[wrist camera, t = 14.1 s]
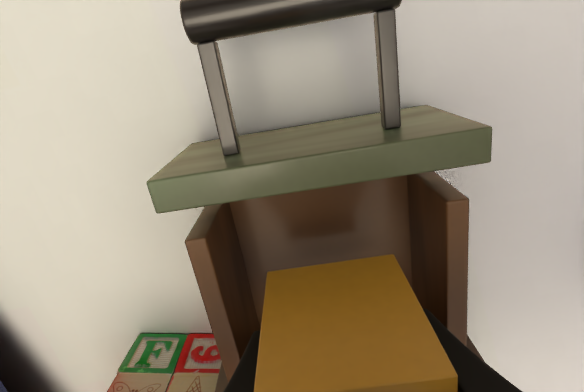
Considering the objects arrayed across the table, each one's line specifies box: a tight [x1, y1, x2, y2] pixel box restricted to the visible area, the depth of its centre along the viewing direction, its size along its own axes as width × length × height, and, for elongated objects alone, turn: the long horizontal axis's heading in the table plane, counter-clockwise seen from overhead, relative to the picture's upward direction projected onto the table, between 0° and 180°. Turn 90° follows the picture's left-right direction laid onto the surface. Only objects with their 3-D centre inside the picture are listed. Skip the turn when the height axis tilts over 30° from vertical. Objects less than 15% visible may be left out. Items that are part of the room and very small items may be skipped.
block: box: [254, 254, 458, 392], centre depth 11 cm, size 4×4×5 cm
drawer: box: [147, 0, 492, 382], centre depth 15 cm, size 19×11×6 cm, turn 9°
